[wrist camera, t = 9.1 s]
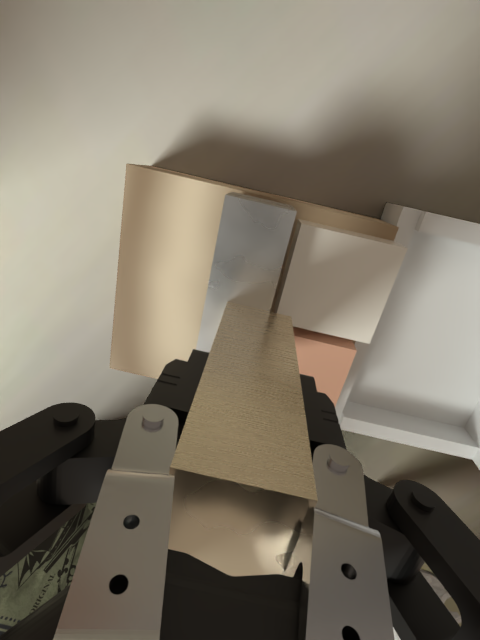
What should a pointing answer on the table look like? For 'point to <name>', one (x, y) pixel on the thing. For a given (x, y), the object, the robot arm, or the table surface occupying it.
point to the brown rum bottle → (43, 570)
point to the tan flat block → (183, 261)
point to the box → (423, 343)
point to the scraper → (244, 408)
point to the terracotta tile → (324, 359)
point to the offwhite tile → (338, 280)
